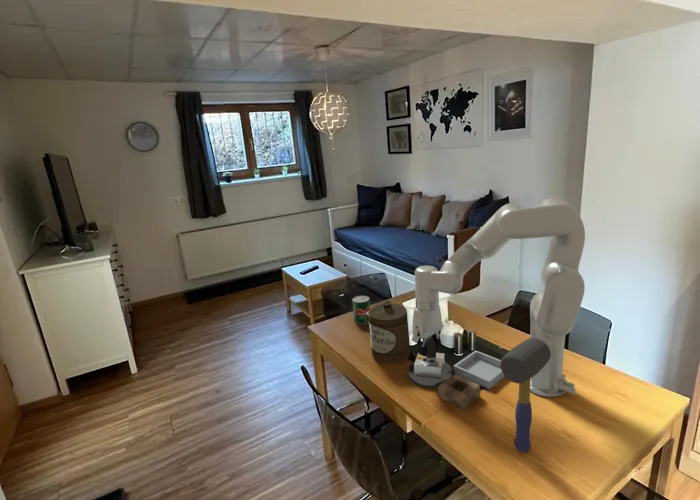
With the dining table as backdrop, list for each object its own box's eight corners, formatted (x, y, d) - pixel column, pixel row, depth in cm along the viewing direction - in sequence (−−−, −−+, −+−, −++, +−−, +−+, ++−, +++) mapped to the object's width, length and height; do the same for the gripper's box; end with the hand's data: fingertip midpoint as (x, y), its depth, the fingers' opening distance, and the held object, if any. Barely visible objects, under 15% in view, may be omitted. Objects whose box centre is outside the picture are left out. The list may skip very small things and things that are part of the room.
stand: (479, 396, 122) (480, 385, 120) (463, 410, 116) (462, 398, 115) (455, 384, 128) (455, 373, 127) (438, 396, 123) (438, 386, 122)
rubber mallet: (520, 430, 106) (523, 331, 99) (548, 444, 101) (554, 341, 93) (495, 455, 99) (497, 350, 91) (524, 472, 93) (529, 362, 85)
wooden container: (363, 354, 151) (359, 302, 145) (389, 340, 160) (386, 290, 155) (392, 368, 140) (388, 313, 134) (418, 352, 149) (415, 299, 144)
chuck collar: (444, 363, 136) (444, 352, 135) (441, 378, 128) (441, 366, 127) (419, 360, 140) (418, 349, 138) (414, 374, 132) (413, 363, 130)
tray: (510, 372, 132) (511, 364, 132) (489, 389, 124) (489, 381, 123) (475, 357, 143) (475, 350, 142) (453, 373, 134) (453, 365, 134)
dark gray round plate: (461, 374, 133) (461, 369, 133) (433, 394, 124) (433, 388, 124) (427, 358, 145) (426, 353, 144) (399, 375, 136) (399, 370, 135)
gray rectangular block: (423, 362, 136) (422, 336, 134) (431, 361, 136) (431, 335, 134) (427, 371, 131) (427, 345, 128) (436, 370, 131) (435, 344, 128)
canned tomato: (361, 326, 175) (360, 303, 172) (350, 321, 181) (348, 299, 178) (374, 320, 180) (373, 298, 177) (363, 315, 186) (361, 294, 183)
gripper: (435, 292, 136) (436, 339, 141) (400, 307, 126) (403, 357, 131) (452, 298, 130) (453, 346, 135) (417, 314, 120) (419, 366, 125)
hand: (428, 351), depth 133 cm, fingers closed on gray rectangular block, 5 cm apart
